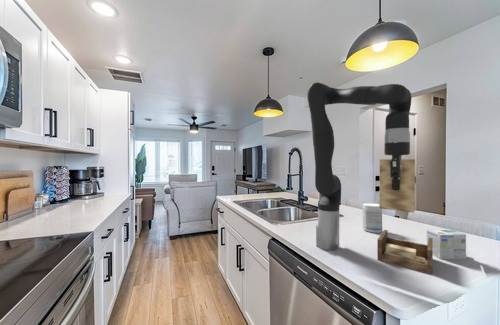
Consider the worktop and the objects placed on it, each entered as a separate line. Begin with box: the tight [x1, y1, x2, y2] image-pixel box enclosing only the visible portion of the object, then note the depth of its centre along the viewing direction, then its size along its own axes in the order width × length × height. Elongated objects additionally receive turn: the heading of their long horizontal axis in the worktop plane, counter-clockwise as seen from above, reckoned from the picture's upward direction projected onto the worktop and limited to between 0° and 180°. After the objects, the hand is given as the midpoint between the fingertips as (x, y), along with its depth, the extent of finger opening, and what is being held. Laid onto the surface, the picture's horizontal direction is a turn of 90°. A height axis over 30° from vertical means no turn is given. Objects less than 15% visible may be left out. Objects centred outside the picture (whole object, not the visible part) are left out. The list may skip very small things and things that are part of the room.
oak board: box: [379, 158, 416, 214], centre depth 76 cm, size 10×4×18 cm, turn 50°
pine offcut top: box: [386, 243, 416, 260], centre depth 80 cm, size 9×4×2 cm, turn 49°
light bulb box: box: [426, 228, 467, 260], centre depth 85 cm, size 11×7×11 cm, turn 92°
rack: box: [376, 229, 434, 275], centre depth 82 cm, size 16×15×9 cm
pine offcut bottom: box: [384, 250, 425, 264], centre depth 79 cm, size 12×4×3 cm, turn 49°
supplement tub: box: [362, 202, 383, 234], centre depth 119 cm, size 10×10×15 cm
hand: (396, 189), depth 76 cm, fingers closed on oak board, 4 cm apart
